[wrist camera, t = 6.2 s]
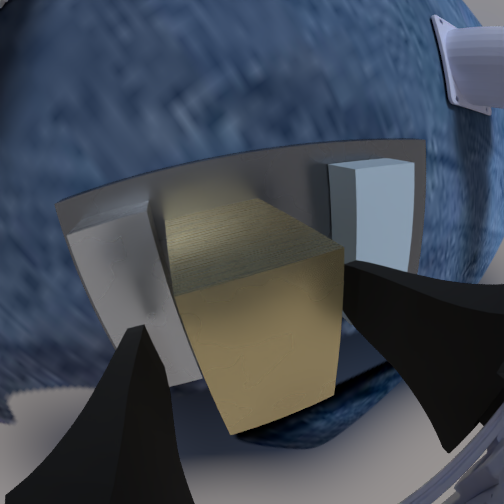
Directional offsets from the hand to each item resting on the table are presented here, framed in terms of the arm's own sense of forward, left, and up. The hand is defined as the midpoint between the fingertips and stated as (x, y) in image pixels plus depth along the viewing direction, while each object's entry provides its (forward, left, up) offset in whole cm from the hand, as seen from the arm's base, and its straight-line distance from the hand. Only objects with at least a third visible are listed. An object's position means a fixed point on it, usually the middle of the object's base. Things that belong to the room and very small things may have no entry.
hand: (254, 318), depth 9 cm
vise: (-3, 0, -5) cm, 6 cm away
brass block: (0, 0, -4) cm, 4 cm away
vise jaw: (-7, 0, -4) cm, 8 cm away
